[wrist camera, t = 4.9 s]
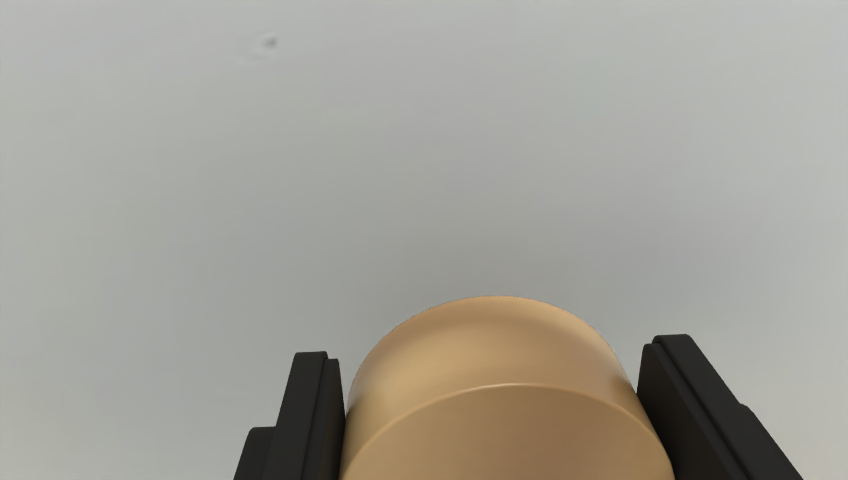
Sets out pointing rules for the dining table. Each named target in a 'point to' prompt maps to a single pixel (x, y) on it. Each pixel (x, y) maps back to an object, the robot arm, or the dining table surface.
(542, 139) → the dining table surface
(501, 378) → the lid
